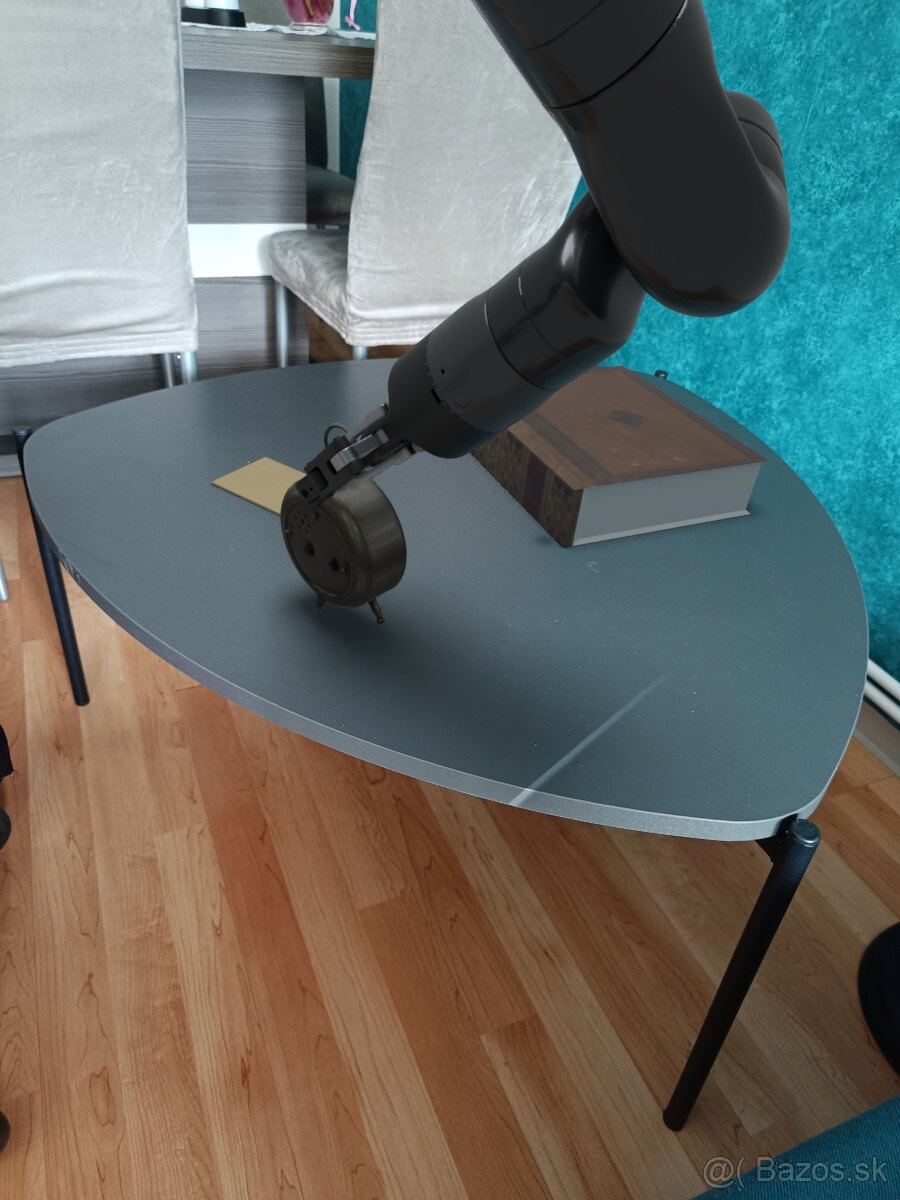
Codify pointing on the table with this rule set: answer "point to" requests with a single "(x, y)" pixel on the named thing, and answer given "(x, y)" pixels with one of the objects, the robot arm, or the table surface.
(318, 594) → the alarm clock
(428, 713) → the table surface
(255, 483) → the mat
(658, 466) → the book
